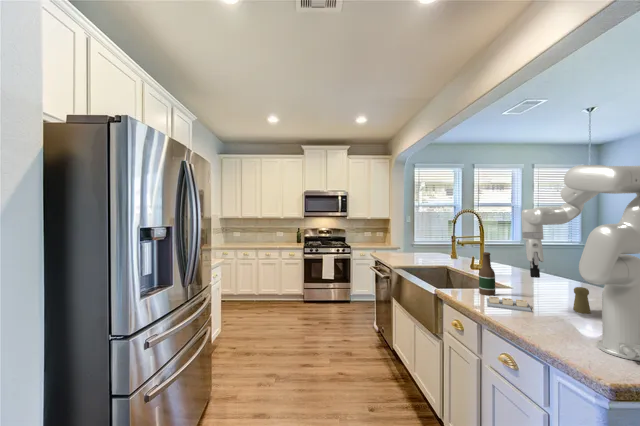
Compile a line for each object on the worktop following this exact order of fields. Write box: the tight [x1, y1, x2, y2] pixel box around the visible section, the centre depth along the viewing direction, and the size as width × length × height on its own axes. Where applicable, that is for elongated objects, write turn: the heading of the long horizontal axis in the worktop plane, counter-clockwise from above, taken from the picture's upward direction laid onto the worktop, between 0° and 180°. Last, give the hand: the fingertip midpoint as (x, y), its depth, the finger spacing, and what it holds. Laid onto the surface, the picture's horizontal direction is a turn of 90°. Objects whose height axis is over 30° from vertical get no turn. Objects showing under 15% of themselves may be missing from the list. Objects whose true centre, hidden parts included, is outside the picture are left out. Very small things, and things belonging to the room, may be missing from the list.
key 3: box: [488, 296, 500, 304], centre depth 139 cm, size 4×4×4 cm
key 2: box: [501, 297, 514, 306], centre depth 136 cm, size 4×4×4 cm
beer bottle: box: [478, 252, 496, 297], centre depth 156 cm, size 8×8×24 cm
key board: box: [486, 297, 533, 313], centre depth 136 cm, size 13×17×2 cm
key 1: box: [515, 298, 528, 307], centre depth 134 cm, size 4×4×4 cm
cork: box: [572, 286, 592, 315], centre depth 130 cm, size 6×6×11 cm
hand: (535, 277), depth 127 cm, fingers closed
